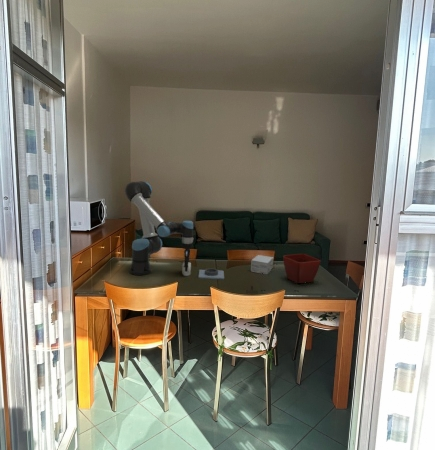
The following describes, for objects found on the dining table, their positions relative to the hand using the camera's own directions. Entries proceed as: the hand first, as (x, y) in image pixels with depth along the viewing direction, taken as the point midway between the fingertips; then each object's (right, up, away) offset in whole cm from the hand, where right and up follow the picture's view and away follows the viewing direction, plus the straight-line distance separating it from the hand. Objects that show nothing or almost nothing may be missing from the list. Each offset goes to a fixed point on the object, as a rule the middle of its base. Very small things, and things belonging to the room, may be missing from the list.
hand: (186, 273), depth 242 cm
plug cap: (0, 0, 0) cm, 0 cm away
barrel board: (+18, -1, 0) cm, 18 cm away
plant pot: (+81, -5, -2) cm, 81 cm away
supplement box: (+57, 0, +18) cm, 59 cm away
